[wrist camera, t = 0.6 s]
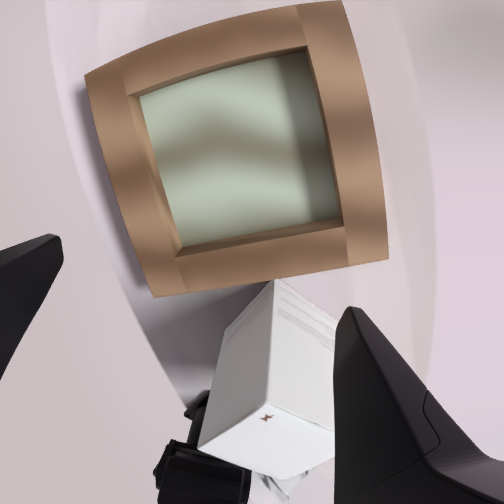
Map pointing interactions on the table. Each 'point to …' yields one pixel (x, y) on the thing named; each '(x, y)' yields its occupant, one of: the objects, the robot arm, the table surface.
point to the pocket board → (244, 150)
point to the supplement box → (274, 387)
